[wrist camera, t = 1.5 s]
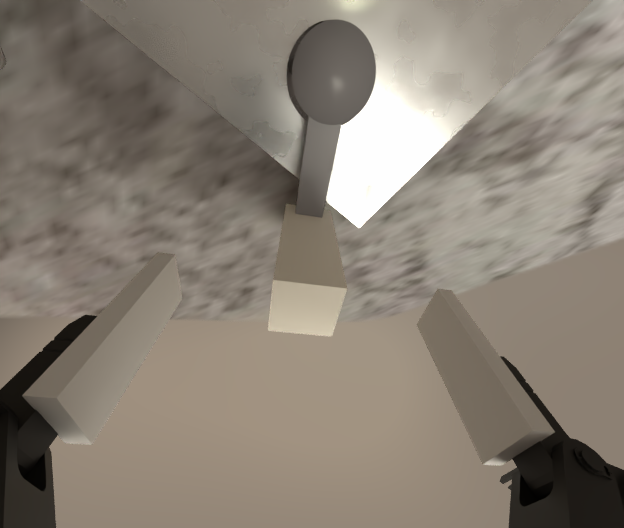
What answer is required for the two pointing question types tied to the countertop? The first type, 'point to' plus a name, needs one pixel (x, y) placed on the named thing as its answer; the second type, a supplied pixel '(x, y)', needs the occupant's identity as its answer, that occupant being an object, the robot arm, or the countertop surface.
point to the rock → (2, 59)
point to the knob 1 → (319, 178)
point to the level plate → (388, 83)
